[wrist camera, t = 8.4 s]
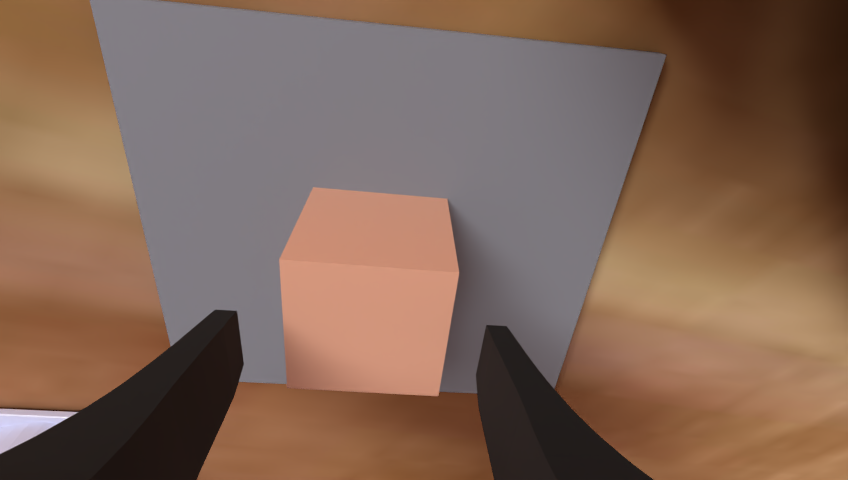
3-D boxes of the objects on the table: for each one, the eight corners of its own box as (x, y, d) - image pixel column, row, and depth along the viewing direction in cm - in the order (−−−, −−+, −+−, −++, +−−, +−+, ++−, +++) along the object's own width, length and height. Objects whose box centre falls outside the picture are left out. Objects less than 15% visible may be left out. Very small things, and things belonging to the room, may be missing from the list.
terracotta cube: (315, 296, 19) (287, 388, 15) (313, 187, 17) (279, 259, 13) (432, 304, 20) (438, 396, 15) (447, 198, 17) (459, 272, 13)
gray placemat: (182, 370, 22) (178, 378, 22) (98, -6, 14) (88, -6, 14) (548, 389, 23) (551, 397, 23) (659, 52, 15) (666, 54, 15)
